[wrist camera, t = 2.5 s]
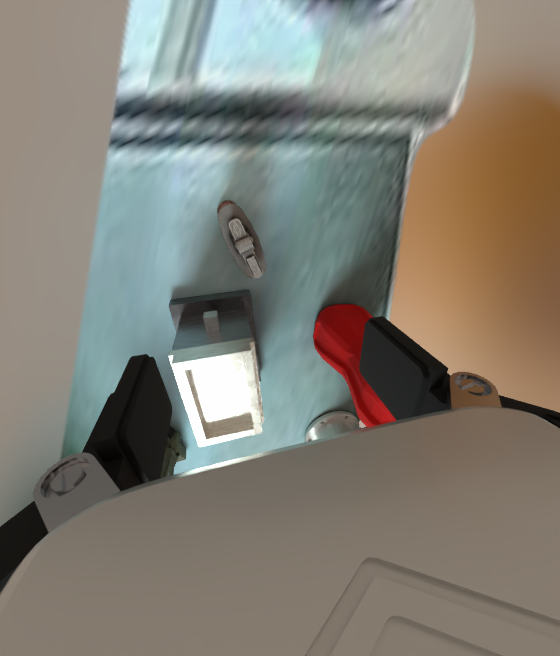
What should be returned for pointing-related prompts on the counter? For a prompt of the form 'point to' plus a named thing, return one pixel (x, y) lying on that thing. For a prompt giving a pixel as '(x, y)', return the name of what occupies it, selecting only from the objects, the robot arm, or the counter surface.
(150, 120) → the counter surface
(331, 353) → the water bottle
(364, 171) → the counter surface
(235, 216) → the lighter
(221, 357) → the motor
